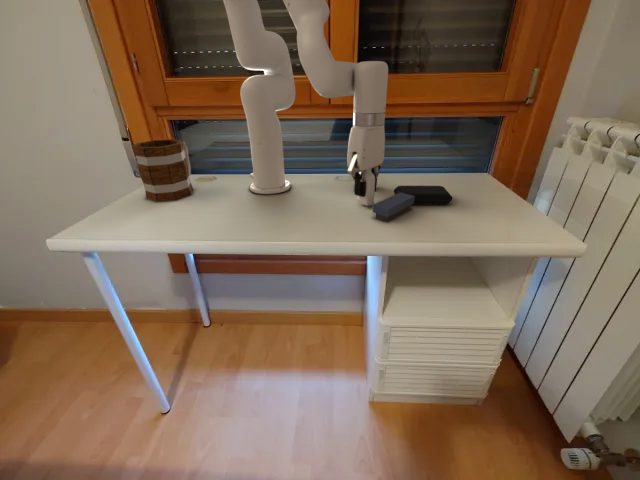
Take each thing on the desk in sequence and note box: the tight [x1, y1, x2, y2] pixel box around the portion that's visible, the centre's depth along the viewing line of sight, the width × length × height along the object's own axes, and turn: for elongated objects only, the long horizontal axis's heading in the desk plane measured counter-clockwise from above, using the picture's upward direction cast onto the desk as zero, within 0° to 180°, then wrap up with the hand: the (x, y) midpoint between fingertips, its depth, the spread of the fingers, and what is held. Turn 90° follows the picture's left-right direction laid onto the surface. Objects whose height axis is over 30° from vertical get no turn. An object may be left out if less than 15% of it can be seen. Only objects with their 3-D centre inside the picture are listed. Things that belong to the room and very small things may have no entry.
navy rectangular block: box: [372, 193, 415, 223], centre depth 80 cm, size 12×4×4 cm, turn 136°
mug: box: [131, 138, 194, 203], centre depth 96 cm, size 20×14×15 cm
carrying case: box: [393, 185, 454, 205], centre depth 89 cm, size 11×3×15 cm
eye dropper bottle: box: [356, 168, 376, 207], centre depth 83 cm, size 4×6×12 cm
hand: (365, 192), depth 85 cm, fingers closed on eye dropper bottle, 4 cm apart
